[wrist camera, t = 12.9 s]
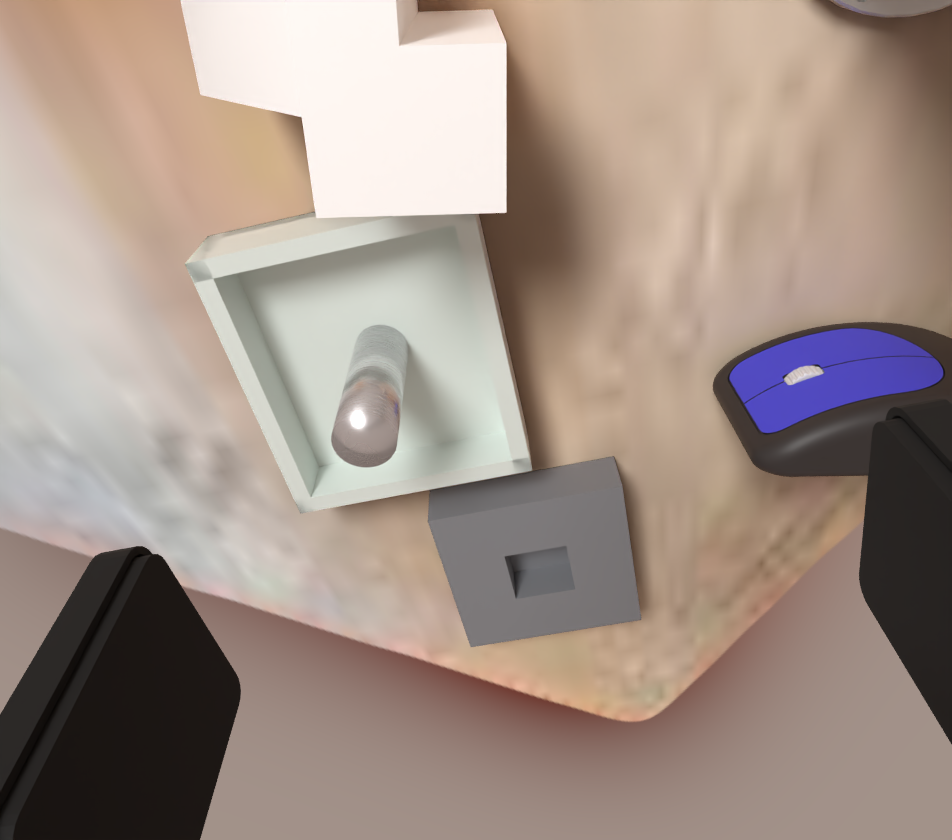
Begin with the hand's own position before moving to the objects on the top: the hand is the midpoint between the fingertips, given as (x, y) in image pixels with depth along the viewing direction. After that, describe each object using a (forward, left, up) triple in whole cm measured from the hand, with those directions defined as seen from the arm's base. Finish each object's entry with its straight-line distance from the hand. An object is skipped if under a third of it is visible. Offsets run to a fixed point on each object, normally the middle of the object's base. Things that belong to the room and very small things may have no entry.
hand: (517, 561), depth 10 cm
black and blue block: (-18, +19, -31) cm, 40 cm away
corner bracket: (+4, -5, -31) cm, 31 cm away
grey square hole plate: (+2, +28, -30) cm, 41 cm away
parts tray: (+8, +11, -30) cm, 33 cm away
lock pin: (+8, +11, -30) cm, 32 cm away
